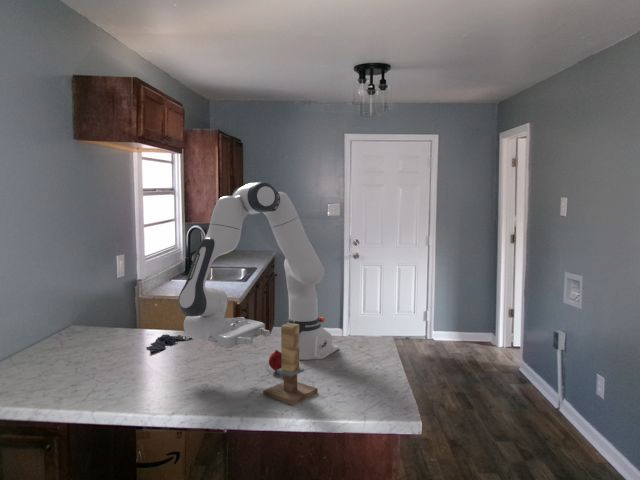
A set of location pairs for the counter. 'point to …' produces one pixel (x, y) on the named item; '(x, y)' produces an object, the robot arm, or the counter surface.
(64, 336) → the counter surface
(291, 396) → the pedestal
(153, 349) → the decorative bat
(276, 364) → the onion
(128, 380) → the counter surface
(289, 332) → the wooden rod
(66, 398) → the counter surface
